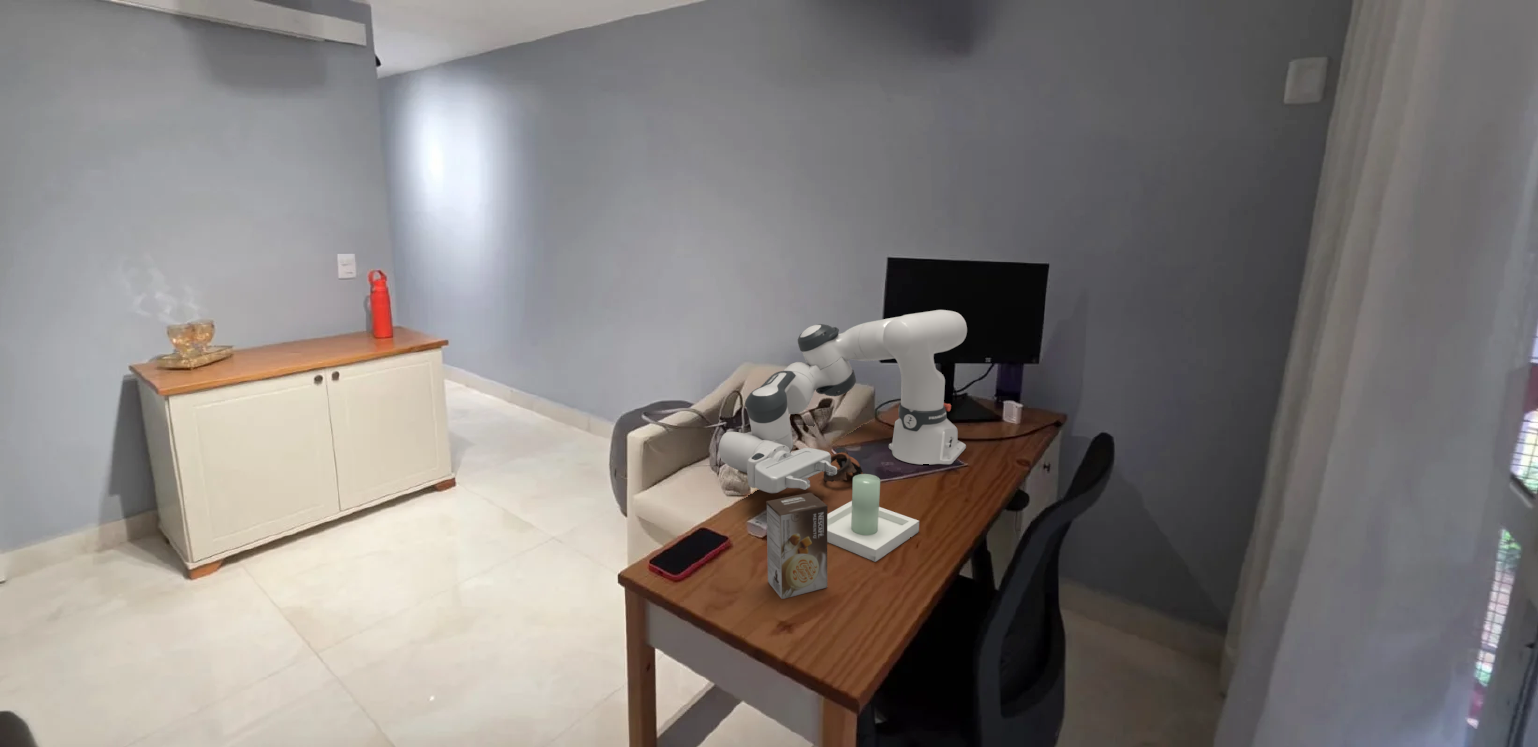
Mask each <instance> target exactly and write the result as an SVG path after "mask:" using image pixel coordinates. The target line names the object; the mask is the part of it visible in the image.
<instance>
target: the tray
mask: <svg viewBox="0 0 1538 747" xmlns="http://www.w3.org/2000/svg"><path fill="white" fill-rule="evenodd" d="M851 515H852V500H850V501H849V502H847V503H845V504H843V505H841V506H840V507H838V508H836V509H834V510H832V511H830V512H829V513H827V543H829V544H832V545H834V546H837V547H839V548H841V549H844V550H845V551H847V552H848V551H849V552H851V553H853V554H856V555H858V556H860V557H863V558H865V559H868V560H870V561H872V562H877V561H879V560H880V559H882V558H883V557H885V556H886V555H887V554H889V553H890V552H892V551H894V550H895V549H896V548H898V547H899V546H900V545H902V544H903V543H905V542H906V541H908V540H909V539H910V537H911V538H912V537H913V536H915V535H916V534H918V533H919V532H920V520H917V519H916V518H912V517H910V516H907V515H904V514H901V513H899V512H896V511H895V512H894V511H892V510H890V509H886V508H884V507H881V506H879V518H878V531H877V533H875V534H873V535H860V534H857V533H855V532H853V531H852V530H851Z"/></svg>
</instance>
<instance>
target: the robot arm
mask: <svg viewBox="0 0 1538 747" xmlns="http://www.w3.org/2000/svg"><path fill="white" fill-rule="evenodd" d="M839 332H840V329H839V327H836V326H835V327H834V326H833V327H832V326H830V325H829V324H823V323H818V324H817V323H816V324H814V325H810V326H809V327H807V328H806V329H804V330H803V331H802V332H800V334H799V336H798V339H797V344H798V349H799V351H800V352H801V353H802V355H803V358H804V360H805V362H801V361H796V362H793V363H790V364H789V365H788V366H786V368H784V369H783V370H780V371H777V372H775V373H773V374H772V375H770V376H769V377H768V378H767V379H766V380H765V381H764V382H763V383H762V385H760V387H757V388H755V389H754V390H752V391H751V392H750V393H749V395H747V398H746V399H745V402H744V405H745V409H746V412H747V416H748V420H749V425H750V429H751V431H748V432H737V431H727V432H725V433H723V435H722V436H721V438H720V440H719V444H718V454H719V457H720V460H721V461H722V462H723V463H724V464H726V465H727V466H729V467H731V468H732V469H735V470H737V471H740V472H742V473H746V475H747V476H746V477H747V485H748V488H749V487H750V488H752V489H757V490H759V491H762V492H765V493H768V494H777V493H780V492H782V491H784V490H786V489H788V488H789V489H801V490H808V489H809V488H810V487H811V481H810V479H808V478H811V477H813V476H816V475H817V474H819V473H822V472H823V473H824V471H826V472H827V475H830V476H833V475H836V474H837V470H838V467H837V466H834V465H832V464H831V456H832V455H831V453H830V452H828V451H827V450H823V449H819V448H813V447H801V448H800V449H797V450H795V451H793V452H792V450H793V448H794V440H793V432H792V426H791V420H790V415H795V414H800V413H802V412H804V411H805V410H806V409H807V408H808V406H810V404H811V402H812V399H813V397H814V394H815V392H816V393H817V394H818V395H825V396H827V397H828V396H829V397H838V396H840V397H841V396H842V395H844V394H846V393H847V392H849V391H850V390H852V389H853V388H854V386H855V384H856V383H857V379H856V374H855V370H854V369H853V368H852V366H851V363H850V360H853V361H860V362H873V361H874V362H876V361H884V360H892V359H895V360H896V362H897V365H898V368H899V372H900V379H901V380H900V381H901V383H900V384H901V385H900V386H901V389H900V391H901V392H900V395H901V396H900V402H899V406H898V419H896V420H895V422H894V428H893V435H892V436H893V437H892V442H891V443H889V444H888V448H889V450H891V454H892V456H893V457H894V458H896V459H897V460H900V461H902V462H905V463H909V464H914V465H923V464H929V465H952V464H953V463H954V461H956V459H957V458H958V457H959V456H960V455H961V454H962V453H963V452H964V451H965V449H966V448H967V445H966V444H965V443H964V442H962V441H960V440H958V438H959V437H958V436H959V435H958V434H959V432H958V428H957V427H956V426H955V424H954V423H952V422H951V421H950V420H949V419H948V418H947V412H950V411H951V409H952V405H951V403H946V402H945V401H944V400H945V391H946V390H945V385H946V379H945V376H944V374H942V372H941V371H939V370H938V369H937V368H936V365H935V359H934V357H935V354H938V353H944V352H948V351H950V350H952V349H954V348H956V347H958V346H959V345H961V344H962V343H963V342H964V341H965V339H966V337H967V333H968V327H967V322H966V320H965V318H964V317H963V316H962V314H960V313H959V312H956V311H953V310H948V309H947V310H946V309H936V310H930V311H928V310H927V311H923V312H915V313H908V314H903V315H901V316H895V317H890V318H885V319H884V318H883V319H877V320H873V321H867V322H863V323H860V324H859V323H858V324H857V325H854V326H852V327H850V328H848V329H846V330H845V331H844V332H842V333H839Z"/></svg>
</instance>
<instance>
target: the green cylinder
mask: <svg viewBox="0 0 1538 747" xmlns="http://www.w3.org/2000/svg"><path fill="white" fill-rule="evenodd" d="M851 493H852V494H851V497H852V498H851V501H852V515H851V530H852V531H853V532H855V533H857V534H860V535H873V534H875V533H877V531H878V518H879V507H880V493H881V479H880V478H879V476H877V475H875V474H870V473H863V474H859V475H856V476H852V492H851Z"/></svg>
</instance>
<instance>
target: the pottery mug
mask: <svg viewBox="0 0 1538 747" xmlns="http://www.w3.org/2000/svg"><path fill="white" fill-rule="evenodd" d="M835 461H836V463H837V465H838V466H839V468H837V474H836V475H833V476H830V475H827V472H826V471H824V472H823V481H824V482H831V483H833V482H839V481H842V480H844V481H848V479H847V473H850V474H852V475H851V476H852V477H854V476H856V475H859V474H864V472H863V471H864V470H863V469H862V467H861V464H860V463H859V461H858V460H857V459H855V458H854V457H852V456H850V455H849V453H848V452H847V451H846V450H842V451H839V452H837V453H834V454H832V455H831V463H833V462H835Z"/></svg>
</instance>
